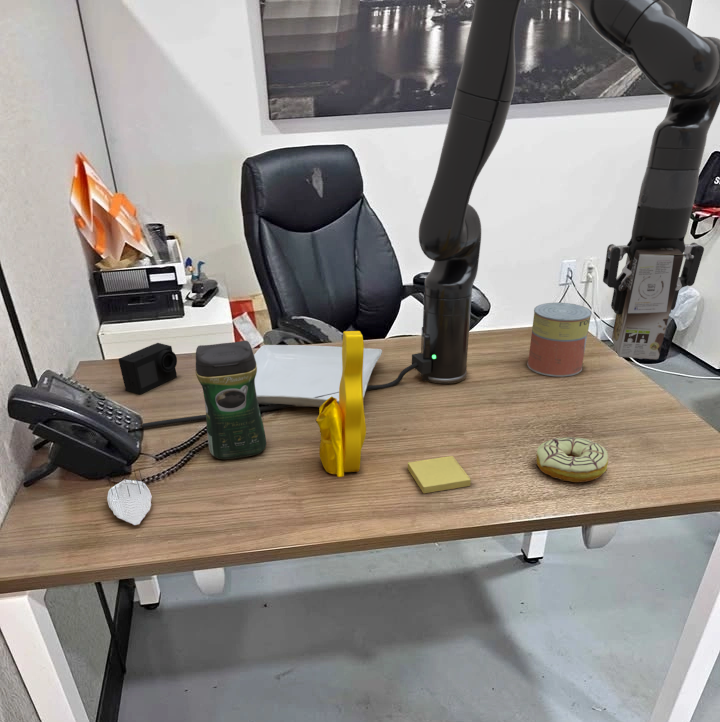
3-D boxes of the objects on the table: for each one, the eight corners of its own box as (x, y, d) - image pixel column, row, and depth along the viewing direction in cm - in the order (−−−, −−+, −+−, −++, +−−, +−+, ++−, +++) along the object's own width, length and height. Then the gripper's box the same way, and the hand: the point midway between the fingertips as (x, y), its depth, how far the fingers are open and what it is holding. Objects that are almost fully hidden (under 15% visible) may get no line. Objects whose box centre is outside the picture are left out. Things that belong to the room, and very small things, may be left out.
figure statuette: (311, 442, 112) (303, 317, 101) (356, 437, 113) (353, 313, 102) (327, 498, 97) (319, 358, 86) (378, 491, 99) (377, 353, 87)
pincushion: (159, 522, 93) (152, 489, 90) (115, 533, 91) (105, 500, 88) (146, 482, 102) (138, 450, 99) (105, 491, 100) (96, 459, 97)
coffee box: (660, 360, 103) (685, 254, 94) (617, 357, 104) (638, 253, 95) (650, 340, 110) (673, 240, 102) (610, 338, 111) (629, 239, 103)
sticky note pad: (423, 493, 98) (423, 487, 97) (407, 468, 104) (407, 462, 103) (470, 486, 99) (471, 479, 99) (452, 461, 106) (452, 455, 105)
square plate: (383, 363, 142) (383, 346, 140) (361, 419, 119) (361, 400, 117) (263, 357, 146) (262, 341, 144) (220, 411, 123) (217, 392, 121)
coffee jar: (263, 434, 115) (252, 332, 105) (269, 456, 108) (257, 349, 99) (207, 442, 113) (191, 339, 103) (210, 464, 106) (192, 356, 97)
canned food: (588, 376, 134) (598, 319, 127) (533, 377, 134) (540, 320, 128) (574, 356, 143) (582, 302, 137) (522, 356, 144) (529, 302, 137)
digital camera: (143, 396, 130) (136, 363, 126) (125, 390, 132) (117, 358, 129) (181, 378, 137) (176, 346, 134) (163, 373, 140) (157, 342, 136)
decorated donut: (538, 448, 109) (541, 428, 107) (606, 457, 106) (610, 437, 104) (531, 479, 100) (534, 458, 99) (604, 490, 97) (609, 469, 95)
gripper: (703, 196, 98) (676, 304, 107) (607, 198, 98) (589, 306, 107) (727, 205, 92) (696, 319, 101) (625, 206, 92) (603, 321, 101)
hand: (641, 312), depth 104 cm, fingers closed on coffee box, 7 cm apart
